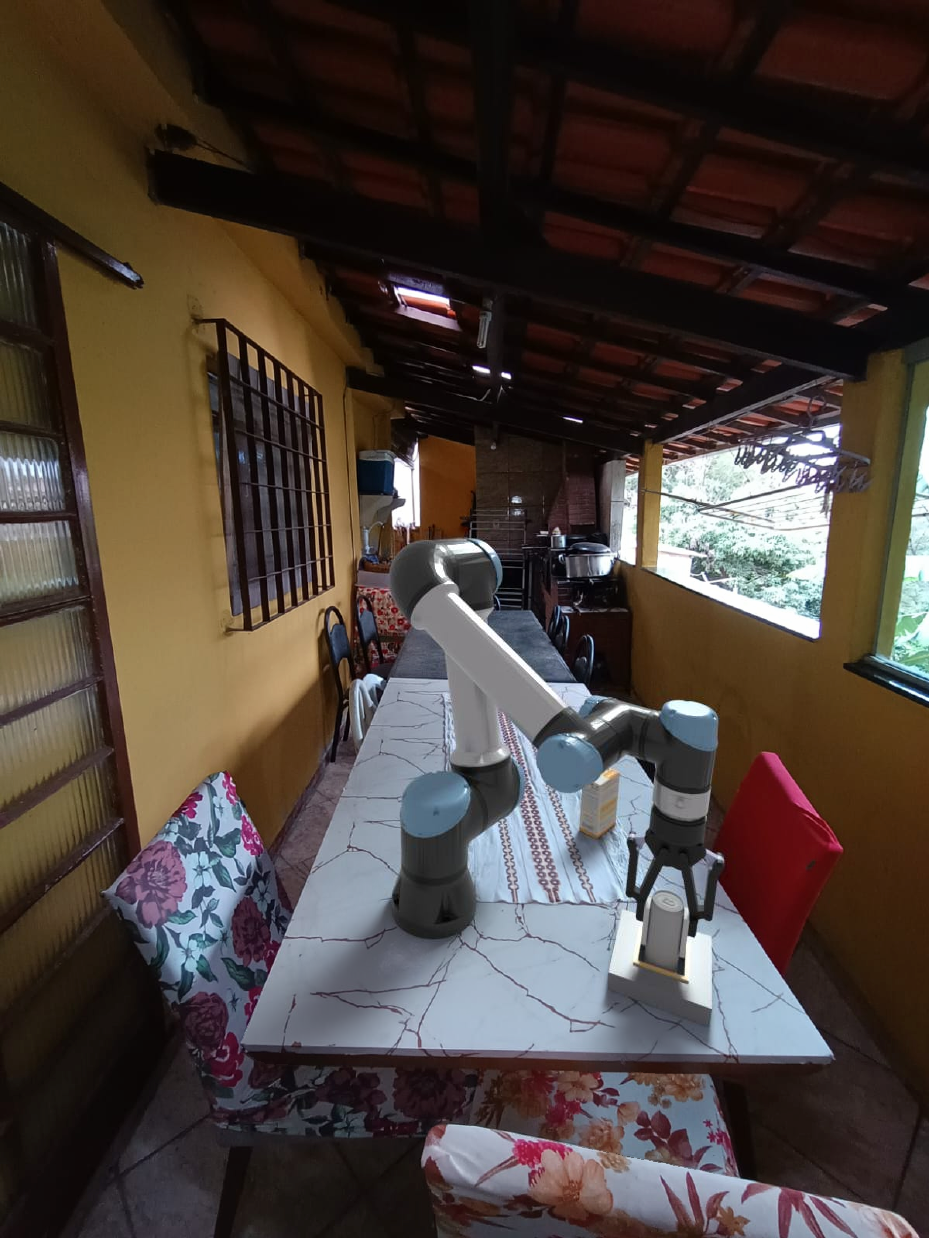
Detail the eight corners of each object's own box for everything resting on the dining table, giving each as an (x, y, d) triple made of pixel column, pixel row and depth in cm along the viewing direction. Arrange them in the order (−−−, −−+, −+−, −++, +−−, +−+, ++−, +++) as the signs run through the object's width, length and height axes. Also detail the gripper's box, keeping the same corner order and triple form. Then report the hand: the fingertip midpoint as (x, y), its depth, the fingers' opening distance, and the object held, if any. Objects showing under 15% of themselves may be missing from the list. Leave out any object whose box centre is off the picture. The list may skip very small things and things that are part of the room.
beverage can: (650, 949, 87) (658, 884, 84) (681, 965, 84) (689, 899, 81) (638, 968, 83) (646, 901, 81) (670, 986, 80) (679, 917, 78)
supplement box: (597, 815, 125) (601, 763, 122) (616, 824, 122) (621, 771, 119) (577, 830, 119) (581, 776, 116) (596, 839, 116) (601, 784, 113)
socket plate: (606, 988, 80) (608, 970, 79) (620, 923, 93) (622, 907, 92) (709, 1026, 75) (712, 1007, 74) (709, 952, 87) (711, 934, 86)
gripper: (611, 805, 78) (599, 941, 83) (750, 838, 71) (727, 985, 76) (619, 781, 85) (607, 909, 90) (746, 809, 78) (726, 946, 83)
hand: (662, 943), depth 83 cm, fingers closed on beverage can, 5 cm apart
